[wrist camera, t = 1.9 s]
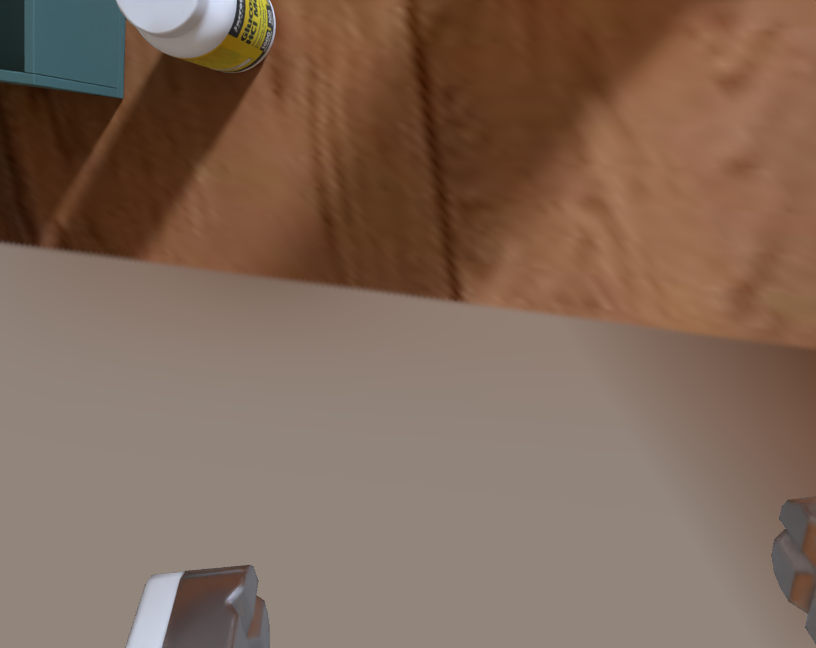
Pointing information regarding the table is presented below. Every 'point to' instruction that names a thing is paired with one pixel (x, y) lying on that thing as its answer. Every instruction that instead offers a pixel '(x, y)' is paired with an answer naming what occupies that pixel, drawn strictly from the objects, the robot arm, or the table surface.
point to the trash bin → (63, 45)
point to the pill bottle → (206, 30)
